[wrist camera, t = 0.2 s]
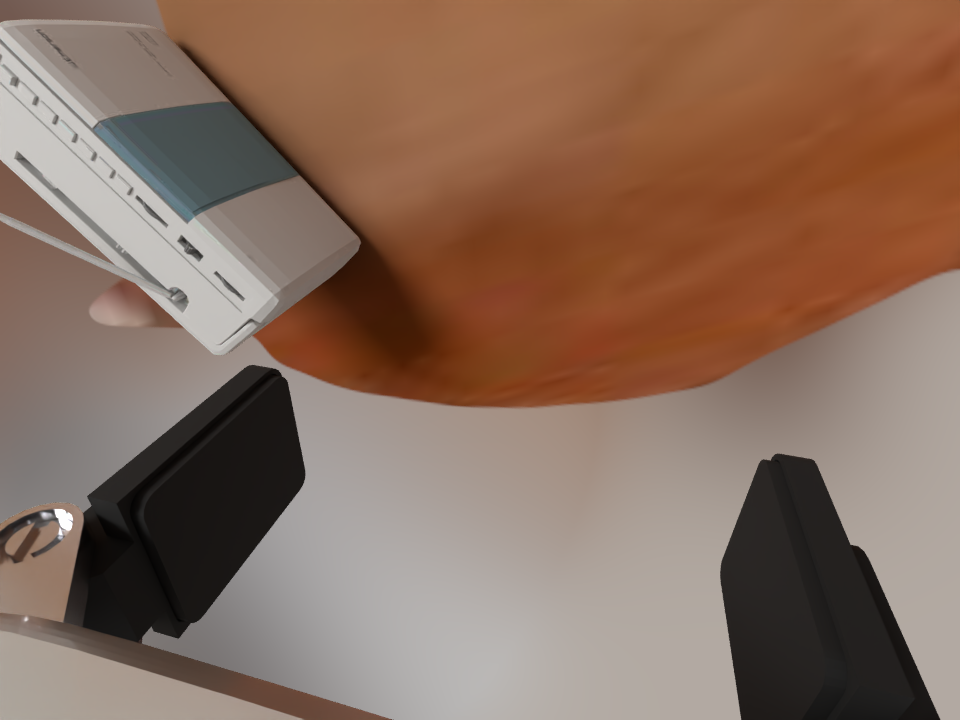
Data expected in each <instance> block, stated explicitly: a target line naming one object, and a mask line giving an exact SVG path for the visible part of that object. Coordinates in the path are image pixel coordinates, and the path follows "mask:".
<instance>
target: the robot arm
mask: <svg viewBox="0 0 960 720" xmlns="http://www.w3.org/2000/svg"><path fill="white" fill-rule="evenodd" d="M304 480H305V467H304V462H303V457H302V452H301V447H300V442H299V437H298V432H297V427H296V422H295V417H294V412H293V407H292V401H291V396H290V391H289V387H288V382H287V380H286V379H285V378H284V377H282V375H281V373H280V372H279V370H276V369H273V368H267V367H262V366H256V365H249V366H247V367H246V368H244V369H243V370H242V371H241V372H239V373H238V374H237V375H236V376H234V377H233V378H232V379H231V380H229V381H228V382H227V383H226V384H225V385H223V386H222V387H221V388H220V389H218V390H217V391H216V392H215V393H214V394H212V395H211V396H210V397H209V398H208V399H206V400H205V401H204V402H202V403H201V404H200V405H199V406H198V407H196V408H195V409H194V410H193V411H191V412H190V413H189V414H188V415H186V416H185V417H184V418H183V419H182V420H180V421H179V422H178V423H177V424H176V425H174V426H173V427H172V428H171V429H169V430H168V431H167V432H166V433H164V434H163V435H162V436H161V437H159V438H158V439H157V440H156V441H155V442H153V443H152V444H151V445H150V446H148V447H147V448H146V449H145V450H144V451H142V452H141V453H140V454H139V455H137V456H136V457H135V458H134V459H133V460H131V461H130V462H129V463H128V464H126V465H125V466H124V467H123V468H122V469H120V470H119V471H118V472H116V473H115V474H114V475H113V476H112V477H110V478H109V479H108V480H107V481H105V482H104V483H103V484H102V485H101V486H99V487H98V488H97V489H96V490H94V491H93V492H92V493H91V494H89V495H88V496H87V497H88V499H89V501H90V503H91V505H92V506H91V507H90V508H89V509H88V510H86V511H85V512H84V513H83V512H82V511H81V510H80V508H79V507H78V506H75V505H73V504H70V503H56V502H55V503H49V504H44V505H39V506H36V507H33V508H30V509H27V510H24V511H22V512H20V513H18V514H16V515H14V516H12V517H10V518H8V519H7V520H5V521H4V522H2V523H1V524H0V720H392V719H388V718H385V717H382V716H379V715H376V714H372V713H369V712H365V711H363V710H359V709H356V708H353V707H349V706H346V705H343V704H340V703H336V702H333V701H330V700H326V699H323V698H320V697H317V696H313V695H310V694H307V693H303V692H300V691H297V690H293V689H290V688H287V687H284V686H281V685H277V684H274V683H271V682H268V681H264V680H261V679H258V678H254V677H251V676H247V675H244V674H241V673H238V672H234V671H231V670H227V669H224V668H221V667H217V666H214V665H211V664H208V663H204V662H201V661H198V660H194V659H191V658H188V657H184V656H181V655H178V654H174V653H171V652H168V651H164V650H161V649H157V648H154V647H151V646H148V645H144V644H142V637H143V635H144V634H145V633H146V632H147V631H148V629H149V628H150V627H151V626H152V628H153V631H155V632H158V633H161V634H164V635H168V636H172V637H175V638H180V636H181V635H182V634H183V632H184V631H185V630H186V629H187V627H188V626H189V625H190V623H194V622H197V621H198V620H200V619H201V618H202V616H203V615H204V614H205V613H206V612H207V610H208V609H209V608H210V606H211V605H212V604H213V602H214V601H215V600H216V598H217V597H218V596H219V595H220V593H221V592H222V591H223V589H224V588H225V587H226V585H227V584H228V583H229V582H230V580H231V579H232V578H233V576H234V575H235V574H236V572H237V571H238V570H239V568H240V567H241V566H242V565H243V563H244V562H245V561H246V559H247V558H248V557H249V555H250V554H251V553H252V552H253V550H254V549H255V548H256V546H257V545H258V544H259V543H260V541H261V540H262V538H263V537H264V536H265V535H266V533H267V532H268V531H269V529H270V528H271V527H272V526H273V524H274V523H275V522H276V520H277V519H278V518H279V516H280V515H281V514H282V512H283V511H284V510H285V509H286V507H287V506H288V505H289V503H290V502H291V501H292V500H293V498H294V497H295V496H296V494H297V493H298V492H299V490H300V489H301V487H302V486H303V483H304ZM720 578H721V586H722V593H723V600H724V607H725V613H726V619H727V627H728V633H729V640H730V647H731V653H732V660H733V667H734V673H735V680H736V687H737V693H738V700H739V707H740V714H741V720H940V718H939V716H938V714H937V711H936V709H935V707H934V705H933V702H932V700H931V698H930V696H929V693H928V691H927V689H926V687H925V685H924V682H923V680H922V678H921V676H920V673H919V671H918V669H917V666H916V664H915V662H914V660H913V657H912V655H911V653H910V651H909V648H908V646H907V644H906V642H905V639H904V637H903V635H902V633H901V631H900V628H899V626H898V624H897V621H896V619H895V617H894V615H893V612H892V610H891V608H890V606H889V603H888V601H887V599H886V597H885V594H884V592H883V590H882V588H881V585H880V583H879V581H878V579H877V576H876V574H875V572H874V570H873V567H872V565H871V563H870V561H869V559H868V557H867V556H866V554H865V552H864V551H863V550H862V549H861V548H859V547H858V546H853V545H850V543H849V540H848V538H847V535H846V533H845V531H844V528H843V526H842V524H841V521H840V519H839V517H838V514H837V512H836V509H835V507H834V505H833V502H832V500H831V498H830V495H829V493H828V491H827V488H826V486H825V483H824V481H823V478H822V476H821V474H820V471H819V469H818V466H817V465H816V463H815V461H814V460H812V459H807V458H801V457H795V456H789V455H784V454H775V455H774V456H773V457H772V459H771V461H770V460H762V461H761V462H760V463H759V465H758V468H757V470H756V473H755V476H754V478H753V481H752V484H751V486H750V489H749V491H748V494H747V496H746V499H745V502H744V504H743V507H742V510H741V512H740V515H739V517H738V520H737V523H736V525H735V528H734V530H733V533H732V536H731V538H730V541H729V544H728V546H727V549H726V551H725V554H724V557H723V559H722V563H721V571H720Z"/></svg>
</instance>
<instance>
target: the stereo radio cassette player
mask: <svg viewBox="0 0 960 720" xmlns="http://www.w3.org/2000/svg"><path fill="white" fill-rule="evenodd" d="M0 160H1V161H3V162H4V163H5V164H6V165H7V166H8V167H9V168H10V169H11V170H12V171H13V172H15V173H16V174H17V175H18V176H19V177H20V178H21V179H22V180H23V181H24V182H25V183H27V184H28V185H29V186H30V187H31V188H32V189H33V190H34V191H35V192H36V193H38V194H39V195H40V196H41V197H42V198H43V199H44V200H45V201H46V202H48V204H50V205H51V206H52V207H53V208H54V209H55V210H56V211H57V212H58V213H60V214H61V215H62V216H63V217H64V218H65V219H66V220H67V221H68V222H69V223H71V225H73V226H74V227H75V228H76V229H77V230H78V231H79V232H80V233H81V234H82V235H83V236H85V237H86V238H87V239H88V240H89V241H90V242H91V243H92V244H93V245H94V246H95V247H97V248H98V249H99V250H100V251H101V252H102V253H103V254H104V255H105V256H107V257H108V258H109V259H110V260H111V261H112V262H113V263H114V264H115V265H116V266H115V265H113V264H111V263H108V262H106V261H104V260H102V259H100V258H98V257H96V256H93V255H91V254H89V253H87V252H85V251H83V250H80V249H78V248H76V247H74V246H72V245H70V244H68V243H66V242H63V241H61V240H59V239H57V238H55V237H52V236H50V235H48V234H46V233H44V232H42V231H40V230H38V229H35V228H33V227H31V226H29V225H27V224H25V223H22V222H20V221H18V220H16V219H14V218H12V217H11V218H10V217H8V216H6V215H4V214H2V213H0V221H2V222H4V223H6V224H7V225H9V226H12V227H13V228H16V229H18V230H20V231H22V232H24V233H27V234H29V235H31V236H33V237H35V238H38V239H40V240H42V241H44V242H47V243H49V244H51V245H53V246H55V247H57V248H60V249H62V250H64V251H66V252H68V253H70V254H73V255H75V256H77V257H79V258H81V259H83V260H86V261H88V262H90V263H92V264H94V265H97V266H99V267H101V268H103V269H105V270H108V271H110V272H112V273H114V274H116V275H119V276H121V277H123V278H125V279H127V280H129V281H132V282H134V283H136V284H137V285H138V286H139V287H140V288H141V289H143V290H144V291H145V292H146V293H147V294H148V295H149V296H150V297H151V298H152V299H153V300H155V301H156V302H157V303H158V304H159V305H160V306H161V307H162V308H163V309H164V310H166V311H167V312H168V313H169V314H170V315H171V316H172V317H173V318H174V319H175V320H176V321H178V322H179V323H180V324H181V325H182V326H183V327H184V328H185V329H186V330H187V331H188V332H190V333H191V334H192V335H193V336H194V337H195V338H196V339H197V340H198V341H200V342H201V343H202V344H203V345H204V346H205V347H206V348H207V349H208V350H209V351H210V352H211V353H213V354H214V355H225V354H227V353H229V352H231V351H233V350H234V349H235V348H237V347H238V346H239V345H240V344H241V343H243V342H244V341H245V340H246V339H248V338H250V337H251V336H252V335H254V334H255V333H256V332H258V331H259V330H261V329H262V328H263V327H265V326H266V325H267V324H269V323H270V322H271V321H273V320H274V319H275V318H277V317H278V316H279V315H281V314H282V313H283V312H285V311H286V310H287V309H289V308H290V307H291V306H293V305H294V304H295V303H297V302H298V301H299V300H301V299H302V298H303V297H305V296H306V295H307V294H309V293H310V292H311V291H313V290H314V289H315V288H317V287H318V286H319V285H321V284H322V283H323V282H325V281H326V280H328V279H329V278H330V277H332V276H333V275H334V274H335V273H336V272H337V271H338V270H339V269H341V268H342V267H343V266H344V265H345V264H346V263H347V262H348V261H349V260H350V259H351V258H352V257H353V256H354V255H355V254H356V252H357V251H358V250H359V246H360V244H361V241H360V239H359V237H358V236H357V235H356V234H355V233H354V232H353V231H352V230H351V229H350V228H349V227H348V226H347V225H346V223H345V222H344V221H343V220H342V219H341V218H340V217H339V216H338V215H337V214H336V213H335V212H334V211H333V210H332V209H331V208H330V207H329V206H328V205H327V203H326V202H325V201H324V200H323V199H322V198H321V197H320V196H319V195H318V194H317V193H316V192H315V191H314V190H313V189H312V188H311V187H310V186H309V184H308V183H307V182H306V181H305V180H304V179H303V178H302V177H301V176H300V175H299V174H298V173H297V172H296V170H295V169H294V168H293V167H292V166H291V165H290V164H289V163H288V162H287V161H286V160H285V159H284V158H283V157H282V156H281V155H280V154H279V153H278V151H277V150H276V149H275V148H274V147H273V146H272V145H271V144H270V143H269V142H268V141H267V140H266V139H265V138H264V137H263V136H262V135H261V133H260V132H259V131H258V130H257V129H256V128H255V127H254V126H253V125H252V124H251V123H250V122H249V121H248V120H247V119H246V118H245V117H244V116H243V114H242V113H241V112H240V111H239V110H238V109H237V108H236V107H235V106H234V105H233V104H232V103H231V102H230V101H229V100H228V99H227V98H226V97H225V95H224V94H223V93H222V92H221V91H220V90H219V89H218V88H217V87H216V86H215V85H214V84H213V83H212V82H211V81H210V80H209V79H208V77H207V76H206V75H205V74H204V73H203V72H202V71H201V70H200V69H199V68H198V67H197V66H196V65H195V64H194V63H193V62H192V61H191V60H190V58H189V57H188V56H187V55H186V54H185V53H184V52H183V51H182V50H181V49H180V48H179V47H178V46H177V45H176V44H175V43H174V42H173V41H172V40H171V39H170V38H169V37H168V36H167V35H166V34H165V33H164V32H163V31H161V30H160V29H158V28H156V27H153V26H149V25H143V24H132V23H131V24H130V23H120V22H105V21H82V20H12V21H4V22H1V23H0Z"/></svg>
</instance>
